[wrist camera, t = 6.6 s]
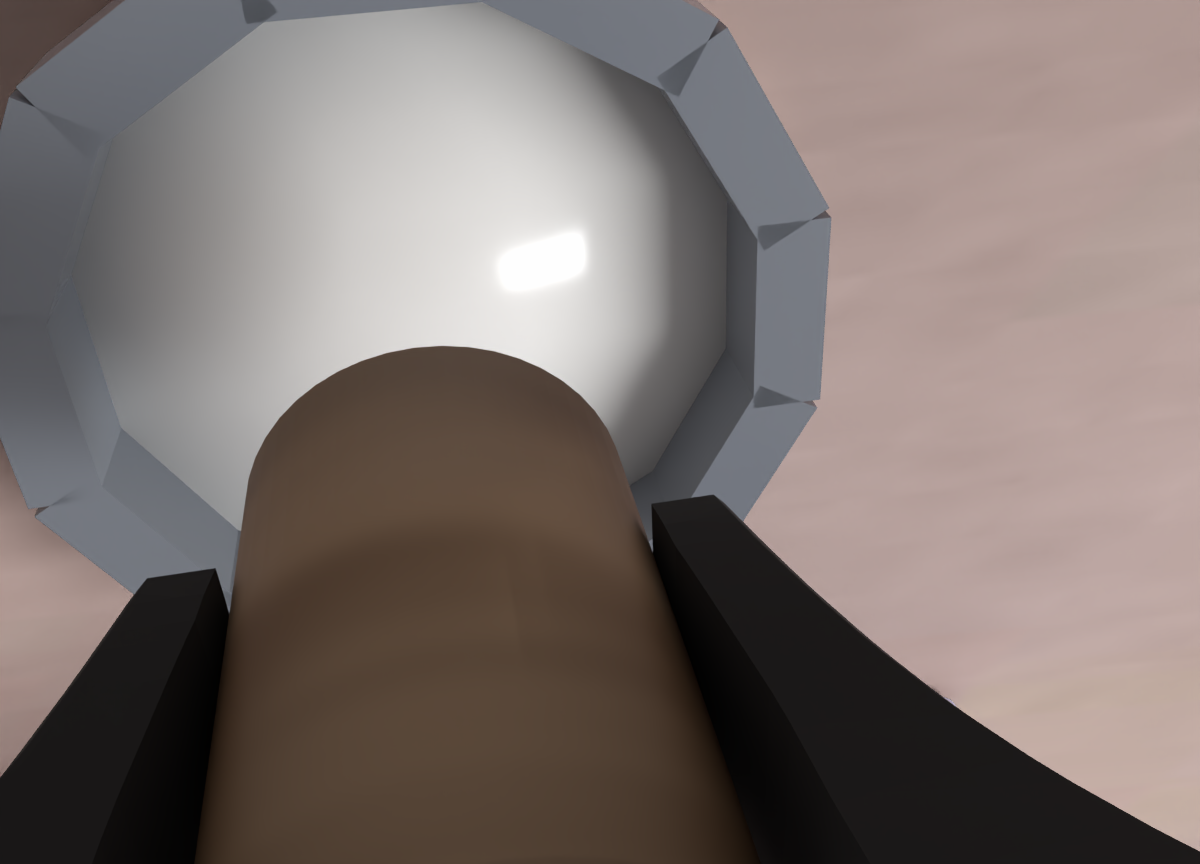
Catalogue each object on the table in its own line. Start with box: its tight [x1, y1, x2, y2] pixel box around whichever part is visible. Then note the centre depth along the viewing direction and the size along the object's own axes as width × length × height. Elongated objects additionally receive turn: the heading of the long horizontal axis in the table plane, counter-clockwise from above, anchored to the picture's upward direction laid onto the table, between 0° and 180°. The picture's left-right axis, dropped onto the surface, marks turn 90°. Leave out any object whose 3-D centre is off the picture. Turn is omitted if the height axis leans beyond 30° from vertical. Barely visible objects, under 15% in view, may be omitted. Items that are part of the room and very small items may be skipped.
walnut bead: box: [194, 346, 761, 864], centre depth 10 cm, size 4×4×6 cm
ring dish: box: [0, 0, 831, 613], centre depth 16 cm, size 11×11×2 cm
